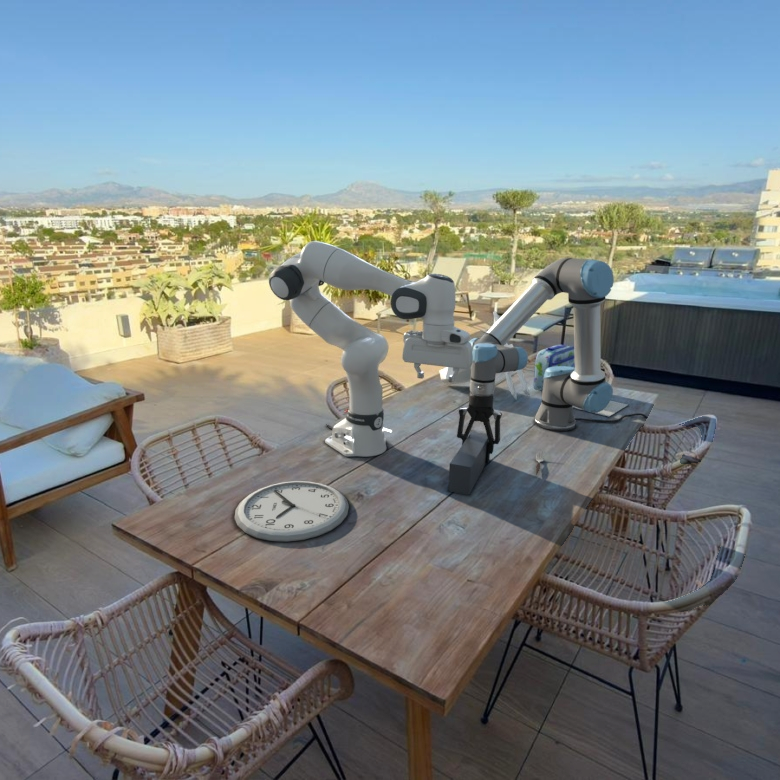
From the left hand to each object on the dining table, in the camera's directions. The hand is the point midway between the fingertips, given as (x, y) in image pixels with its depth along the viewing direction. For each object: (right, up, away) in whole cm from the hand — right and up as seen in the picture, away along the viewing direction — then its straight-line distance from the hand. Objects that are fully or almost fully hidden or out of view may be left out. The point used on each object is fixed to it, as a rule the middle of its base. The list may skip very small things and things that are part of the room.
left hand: (435, 380), depth 152 cm
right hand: (+15, -26, +19) cm, 35 cm away
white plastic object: (+28, -4, +91) cm, 96 cm away
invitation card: (+78, -10, +74) cm, 108 cm away
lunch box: (+65, -3, +98) cm, 118 cm away
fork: (+35, -28, +17) cm, 47 cm away
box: (+11, -29, +11) cm, 33 cm away
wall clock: (-39, -35, -12) cm, 54 cm away
